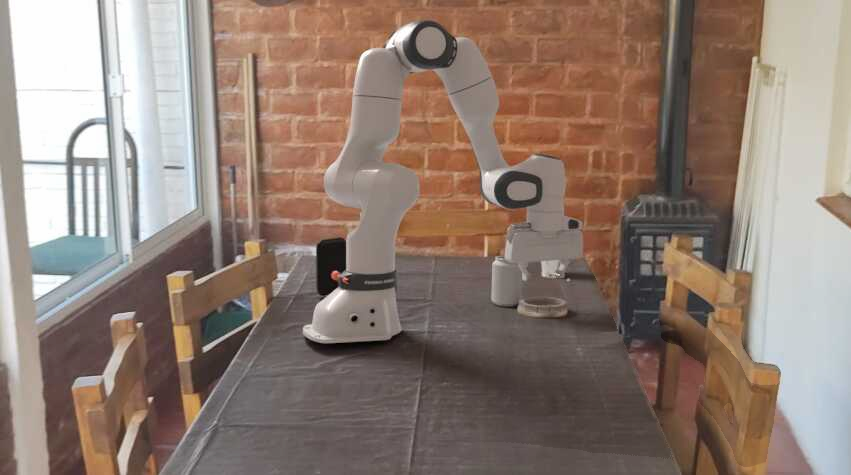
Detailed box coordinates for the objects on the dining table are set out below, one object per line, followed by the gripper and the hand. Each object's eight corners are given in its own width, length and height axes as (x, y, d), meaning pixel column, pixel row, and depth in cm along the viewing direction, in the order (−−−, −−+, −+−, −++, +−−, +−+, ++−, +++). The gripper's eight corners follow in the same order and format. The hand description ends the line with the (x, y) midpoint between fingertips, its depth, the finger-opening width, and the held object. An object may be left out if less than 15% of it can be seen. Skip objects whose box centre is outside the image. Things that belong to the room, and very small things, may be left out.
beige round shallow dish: (534, 319, 211) (534, 309, 211) (508, 308, 222) (508, 298, 221) (577, 314, 216) (577, 304, 216) (549, 304, 227) (550, 294, 226)
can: (521, 301, 230) (523, 255, 228) (520, 308, 222) (522, 260, 221) (491, 300, 231) (493, 253, 229) (490, 306, 223) (491, 258, 222)
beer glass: (558, 287, 247) (559, 233, 244) (534, 284, 250) (536, 231, 248) (567, 283, 253) (569, 230, 250) (544, 280, 256) (545, 228, 254)
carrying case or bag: (345, 290, 241) (345, 235, 239) (353, 292, 239) (352, 236, 236) (313, 296, 233) (313, 239, 231) (321, 298, 231) (320, 241, 229)
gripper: (514, 226, 208) (512, 284, 210) (587, 221, 217) (585, 278, 219) (500, 222, 214) (499, 279, 216) (572, 218, 223) (570, 273, 225)
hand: (543, 278), depth 218 cm, fingers open, 8 cm apart
